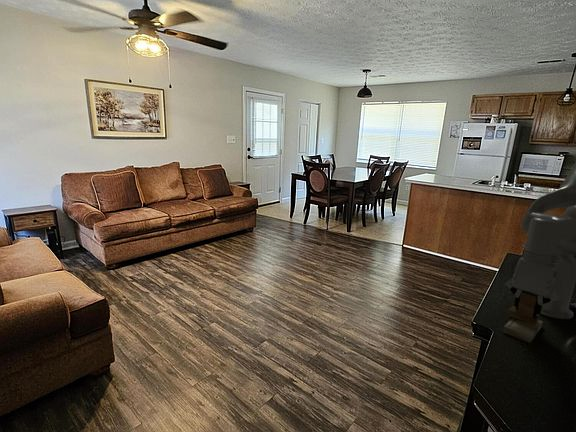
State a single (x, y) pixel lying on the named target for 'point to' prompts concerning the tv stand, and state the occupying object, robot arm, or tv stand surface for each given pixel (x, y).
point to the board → (522, 329)
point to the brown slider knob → (525, 308)
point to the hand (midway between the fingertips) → (526, 311)
